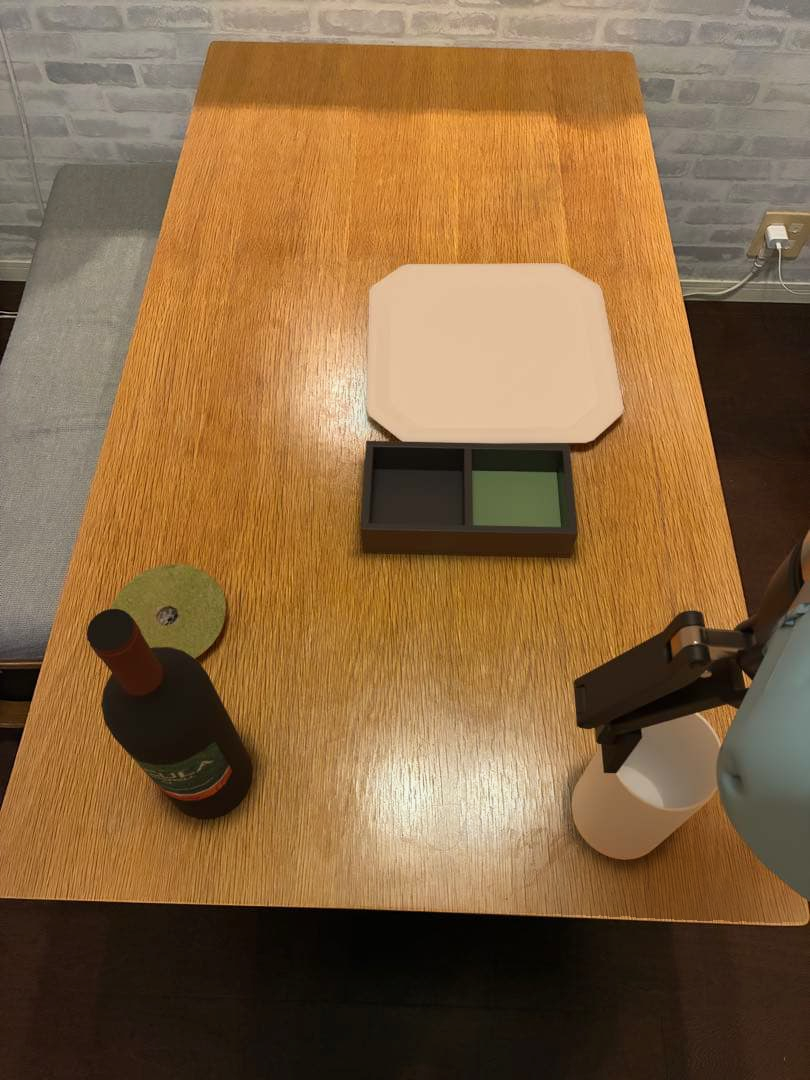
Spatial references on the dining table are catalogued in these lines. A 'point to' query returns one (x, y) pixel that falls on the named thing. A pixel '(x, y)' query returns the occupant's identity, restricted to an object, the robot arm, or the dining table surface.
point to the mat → (175, 607)
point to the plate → (491, 355)
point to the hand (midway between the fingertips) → (720, 755)
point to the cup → (648, 788)
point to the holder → (468, 499)
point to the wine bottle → (170, 719)
